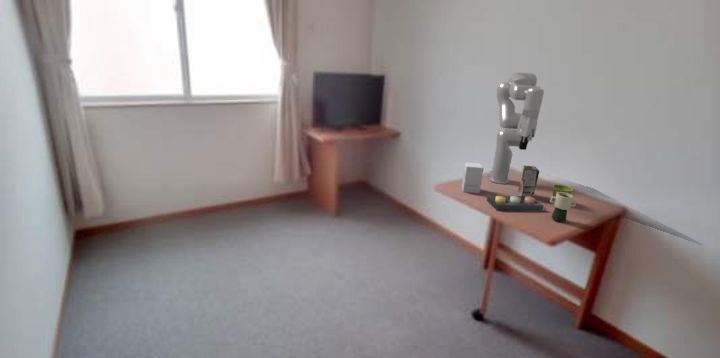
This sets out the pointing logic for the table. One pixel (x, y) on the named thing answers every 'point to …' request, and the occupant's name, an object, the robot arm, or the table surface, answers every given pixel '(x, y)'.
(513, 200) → the sage button
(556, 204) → the character mug
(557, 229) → the table surface
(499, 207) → the panel
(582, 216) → the table surface
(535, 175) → the coffee box
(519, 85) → the robot arm
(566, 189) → the plant pot
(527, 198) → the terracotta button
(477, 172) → the supplement box
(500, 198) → the mustard button
